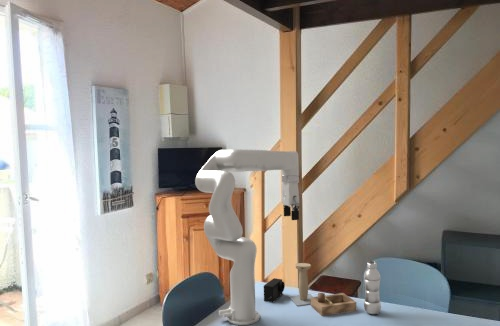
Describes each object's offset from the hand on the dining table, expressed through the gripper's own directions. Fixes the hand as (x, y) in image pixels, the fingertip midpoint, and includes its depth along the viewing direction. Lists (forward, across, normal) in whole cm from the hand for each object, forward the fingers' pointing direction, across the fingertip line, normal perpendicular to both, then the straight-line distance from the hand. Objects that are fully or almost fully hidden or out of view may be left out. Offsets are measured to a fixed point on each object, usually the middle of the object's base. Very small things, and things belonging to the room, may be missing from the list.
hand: (291, 217), depth 178 cm
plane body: (+34, +19, +10) cm, 41 cm away
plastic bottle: (+34, +28, +22) cm, 50 cm away
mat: (+34, +8, +2) cm, 35 cm away
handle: (+34, +8, +2) cm, 35 cm away
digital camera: (+35, +1, -9) cm, 36 cm away
